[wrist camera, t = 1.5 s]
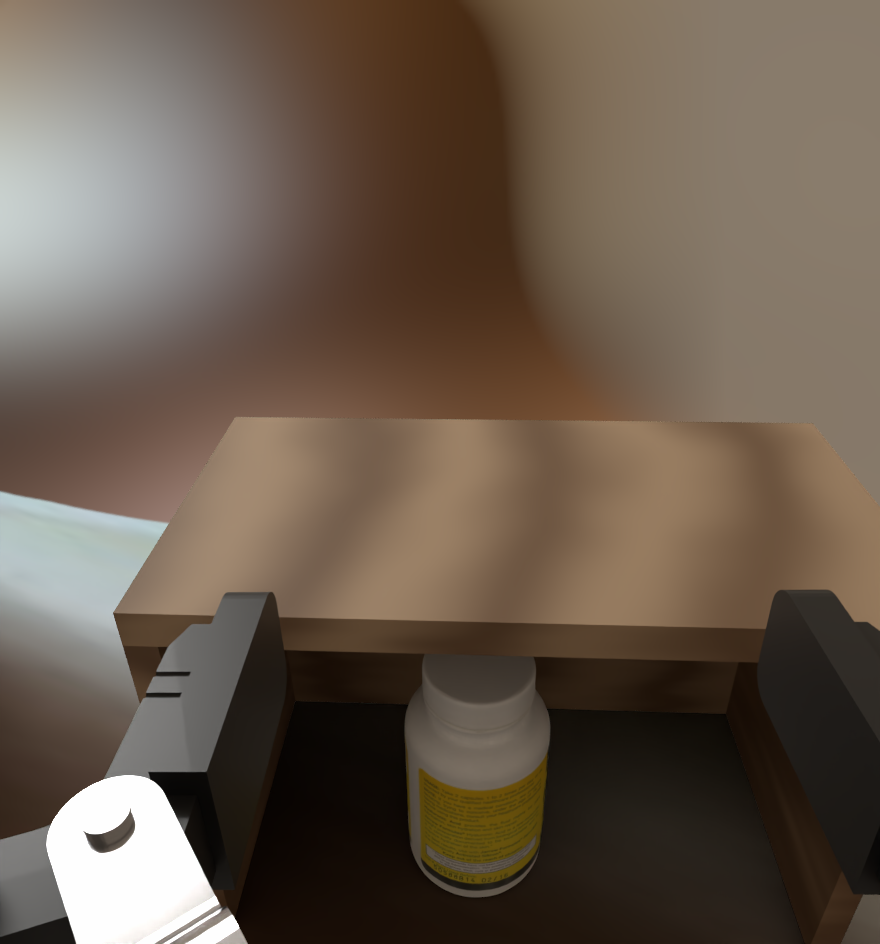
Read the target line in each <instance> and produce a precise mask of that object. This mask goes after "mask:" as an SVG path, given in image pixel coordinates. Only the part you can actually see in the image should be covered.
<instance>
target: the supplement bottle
mask: <svg viewBox="0 0 880 944" xmlns="http://www.w3.org/2000/svg"><path fill="white" fill-rule="evenodd" d="M535 679H536V664H535V660H534V657H528V656H490V655H452V654H425V655H424V658H423V662H422V685H421V686H420V687H419V688H418V689H417V691H416V692H415V693H414V695H413V696H412V698H411V700H410V702H409V705H408V707H407V711H406V715H405V751H406V774H407V798H408V799H407V802H408V824H409V838H410V845H411V849H412V852H413V855H414V858H415V860H416V862H417V864H418V865H419V867H420V868H421V870H422V871H423V873H424V874H425V875H426V876H427V877H428V878H429V879H430V880H431V881H432V882H434V883H435V884H436V885H438V886H439V887H441V888H443V889H444V890H446V891H449V892H451V893H453V894H457V895H460V896H465V897H488V896H493V895H497V894H500V893H502V892H504V891H506V890H508V889H510V888H512V887H513V886H515V885H516V884H518V883H519V882H520V881H521V880H522V879H523V878H524V877H525V876H526V875H527V874H528V873H529V871H530V870H531V868H532V866H533V865H534V863H535V861H536V858H537V856H538V852H539V848H540V843H541V835H542V826H543V814H544V803H545V791H546V779H547V767H548V756H549V748H550V720H549V715H548V711H547V708H546V706H545V703H544V701H543V700H542V698H541V696H540V695H539V693H538V692H537V691H536V690H535Z"/></svg>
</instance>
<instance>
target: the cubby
mask: <svg viewBox="0 0 880 944" xmlns="http://www.w3.org/2000/svg"><path fill="white" fill-rule="evenodd" d="M825 589H826V590H830V591H832V592H833V593H834V594H835V595H836V596H837V598H838V599H839V600H840V602H841V603H842V605H843V606H844V608H845V609H846V610H847V612H848V613H849V615H850V616H851V618H852V619H853V620H854V622H868V623H870V624H871V625H872V626H874V627H875V628H877V629H878V630H879V631H880V507H879V506H878V504H877V503H876V502H875V500H874V499H873V498H872V497H871V495H869V493H868V492H867V490H866V489H865V488H864V487H863V485H862V484H861V483H860V482H859V481H858V479H857V478H856V477H855V475H854V474H853V473H852V472H851V470H850V469H849V468H848V467H847V465H846V464H845V463H844V462H843V461H842V459H841V458H840V457H839V456H838V454H837V453H836V452H835V451H834V449H833V448H832V447H831V446H830V444H829V443H828V442H827V441H826V439H825V438H824V437H823V436H822V434H821V433H820V432H819V431H818V429H817V428H816V427H815V426H814V424H813V423H733V422H732V423H731V422H727V423H726V422H641V421H640V422H638V421H549V420H548V421H547V420H542V421H541V420H457V419H451V420H450V419H449V420H448V419H364V418H363V419H362V418H271V417H268V418H267V417H235V419H234V420H233V422H232V424H231V425H230V427H229V429H228V430H227V432H226V433H225V435H224V436H223V438H222V440H221V441H220V443H219V445H218V446H217V448H216V449H215V451H214V452H213V454H212V456H211V457H210V459H209V461H208V462H207V464H206V466H205V467H204V468H203V470H202V472H201V473H200V475H199V476H198V478H197V480H196V481H195V483H194V484H193V486H192V488H191V489H190V491H189V492H188V494H187V496H186V497H185V499H184V501H183V502H182V504H181V505H180V507H179V508H178V510H177V512H176V514H175V515H174V516H173V518H172V520H171V521H170V523H169V524H168V526H167V528H166V529H165V531H164V532H163V534H162V536H161V537H160V539H159V540H158V542H157V544H156V545H155V547H154V548H153V550H152V552H151V553H150V555H149V556H148V558H147V560H146V561H145V563H144V564H143V566H142V568H141V569H140V571H139V572H138V574H137V576H136V577H135V579H134V580H133V582H132V584H131V585H130V587H129V588H128V590H127V592H126V593H125V595H124V596H123V598H122V600H121V601H120V603H119V604H118V606H117V608H116V609H115V611H114V612H113V614H114V618H115V621H116V625H117V628H118V631H119V635H120V638H121V641H122V645H123V648H124V651H125V655H126V658H127V661H128V665H129V668H130V671H131V675H132V678H133V681H134V685H135V688H136V691H137V695H138V698H139V701H140V704H141V702H142V700H143V698H146V691H147V689H148V687H149V685H150V683H151V681H152V679H153V677H156V671H157V669H158V667H159V664H160V662H161V660H162V658H163V656H164V654H165V652H166V650H167V648H168V646H169V645H170V644H171V643H172V642H173V641H174V640H175V639H177V638H178V637H179V636H180V635H181V634H182V633H183V632H184V631H185V630H186V629H187V628H188V627H189V626H190V625H191V624H211V623H212V621H213V619H214V616H215V614H216V611H217V609H218V607H219V604H220V602H221V600H222V598H223V596H224V594H225V593H227V592H273V593H274V595H275V597H276V601H277V607H278V614H279V620H280V627H281V633H282V640H283V646H284V653H285V659H286V668H287V684H286V695H285V701H284V705H283V709H282V713H281V717H280V720H279V724H278V728H277V732H276V736H275V739H274V743H273V747H272V751H271V755H270V758H269V762H268V766H267V770H266V774H265V778H264V781H263V785H262V789H261V793H260V797H259V800H258V804H257V808H256V812H255V816H254V819H253V823H252V827H251V831H250V835H249V838H248V842H247V846H246V850H245V854H244V858H243V861H242V865H241V869H240V873H239V877H238V880H237V884H236V888H235V890H212V891H213V893H214V895H215V897H216V898H217V900H218V902H219V904H220V906H221V907H224V906H226V907H227V908H228V909H229V910H230V912H231V913H232V915H233V917H234V919H235V916H236V912H237V909H238V905H239V902H240V898H241V894H242V891H243V887H244V884H245V880H246V876H247V873H248V869H249V866H250V862H251V858H252V855H253V851H254V848H255V844H256V840H257V837H258V833H259V830H260V826H261V822H262V819H263V815H264V812H265V808H266V804H267V801H268V797H269V794H270V790H271V786H272V783H273V779H274V776H275V772H276V769H277V765H278V761H279V758H280V754H281V751H282V747H283V743H284V740H285V736H286V733H287V729H288V725H289V722H290V718H291V715H292V711H293V707H294V704H295V701H309V702H343V703H377V704H409V702H410V700H411V698H412V696H413V695H414V693H415V692H416V691H417V689H418V688H419V687H420V686H421V685H422V662H423V658H424V655H425V654H452V655H490V656H528V657H534V660H535V664H536V679H535V690H536V691H537V692H538V693H539V695H540V696H541V698H542V700H543V701H544V703H545V706H546V708H547V709H578V710H612V711H646V712H679V713H713V714H726V716H727V719H728V722H729V725H730V728H731V731H732V734H733V736H734V739H735V742H736V745H737V748H738V751H739V754H740V757H741V760H742V763H743V765H744V768H745V771H746V774H747V777H748V780H749V783H750V786H751V789H752V792H753V795H754V797H755V800H756V803H757V806H758V809H759V812H760V815H761V818H762V821H763V824H764V826H765V829H766V832H767V835H768V838H769V841H770V844H771V847H772V850H773V853H774V856H775V858H776V861H777V864H778V867H779V870H780V873H781V876H782V879H783V882H784V885H785V888H786V890H787V893H788V896H789V899H790V902H791V905H792V908H793V911H794V914H795V917H796V919H797V922H798V925H799V928H800V931H801V934H802V937H803V940H804V943H805V944H841V942H842V939H843V937H844V935H845V933H846V931H847V928H848V926H849V924H850V922H851V920H852V918H853V915H854V913H855V911H856V909H857V907H858V904H859V902H860V900H861V898H862V896H863V894H853V893H852V891H851V889H850V886H849V884H848V882H847V880H846V878H845V876H844V874H843V872H842V870H841V867H840V865H839V863H838V861H837V859H836V857H835V855H834V853H833V850H832V848H831V846H830V844H829V842H828V840H827V838H826V836H825V834H824V831H823V829H822V827H821V825H820V823H819V821H818V819H817V817H816V815H815V812H814V810H813V808H812V806H811V804H810V802H809V800H808V798H807V795H806V793H805V791H804V789H803V787H802V785H801V783H800V781H799V779H798V776H797V774H796V772H795V770H794V768H793V766H792V764H791V762H790V760H789V757H788V755H787V753H786V751H785V749H784V747H783V745H782V743H781V740H780V738H779V736H778V734H777V732H776V730H775V728H774V726H773V724H772V721H771V719H770V717H769V715H768V713H767V711H766V709H765V707H764V704H763V702H762V699H761V696H760V692H759V687H758V678H757V668H758V661H759V656H760V652H761V648H762V643H763V639H764V635H765V630H766V626H767V622H768V618H769V613H770V609H771V605H772V601H773V598H774V595H775V594H776V592H777V591H779V590H825Z"/></svg>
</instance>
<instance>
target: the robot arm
mask: <svg viewBox="0 0 880 944" xmlns="http://www.w3.org/2000/svg"><path fill="white" fill-rule="evenodd" d="M757 678H758V687H759V692H760V696H761V699H762V702H763V704H764V707H765V709H766V711H767V713H768V715H769V717H770V719H771V721H772V724H773V726H774V728H775V730H776V732H777V734H778V736H779V738H780V740H781V743H782V745H783V747H784V749H785V751H786V753H787V755H788V757H789V760H790V762H791V764H792V766H793V768H794V770H795V772H796V774H797V776H798V779H799V781H800V783H801V785H802V787H803V789H804V791H805V793H806V795H807V798H808V800H809V802H810V804H811V806H812V808H813V810H814V812H815V815H816V817H817V819H818V821H819V823H820V825H821V827H822V829H823V831H824V834H825V836H826V838H827V840H828V842H829V844H830V846H831V848H832V850H833V853H834V855H835V857H836V859H837V861H838V863H839V865H840V867H841V870H842V872H843V874H844V876H845V878H846V880H847V882H848V884H849V886H850V889H851V891H852V893H853V894H878V895H880V631H879V630H878V629H877V628H875V627H874V626H872V625H871V624H870V623H868V622H854V620H853V619H852V618H851V616H850V615H849V613H848V612H847V610H846V609H845V608H844V606H843V605H842V603H841V602H840V600H839V599H838V598H837V596H836V595H835V594H834V593H833V592H832V591H830V590H826V589H825V590H779V591H777V592H776V594H775V595H774V598H773V601H772V605H771V609H770V613H769V618H768V622H767V626H766V630H765V635H764V639H763V643H762V648H761V652H760V656H759V661H758V668H757ZM286 684H287V668H286V659H285V653H284V646H283V640H282V633H281V627H280V620H279V614H278V607H277V601H276V597H275V595H274V593H273V592H227V593H225V594H224V596H223V598H222V600H221V602H220V604H219V607H218V609H217V611H216V614H215V616H214V619H213V621H212V623H211V624H191V625H190V626H189V627H188V628H187V629H186V630H185V631H184V632H183V633H182V634H181V635H180V636H179V637H178V638H177V639H175V640H174V641H173V642H172V643H171V644H170V645H169V646H168V648H167V650H166V652H165V654H164V656H163V658H162V660H161V662H160V664H159V667H158V669H157V671H156V677H153V679H152V681H151V683H150V685H149V687H148V689H147V691H146V698H143V700H142V702H141V704H140V706H139V708H138V710H137V712H136V714H135V716H134V718H133V720H132V722H131V725H130V727H129V729H128V731H127V733H126V735H125V737H124V739H123V741H122V743H121V745H120V747H119V749H118V752H117V754H116V756H115V758H114V760H113V762H112V764H111V766H110V768H109V770H108V772H107V774H106V776H105V778H104V780H103V781H101V782H98V783H96V784H94V785H92V786H90V787H88V788H86V789H84V790H83V791H81V792H80V793H79V794H77V795H76V796H74V797H73V798H72V799H71V800H70V801H69V802H68V803H67V804H66V805H65V806H64V807H63V808H62V809H61V810H60V812H59V813H58V815H57V816H56V817H55V819H54V821H53V823H52V824H50V825H48V826H46V827H43V828H40V829H37V830H34V831H30V832H27V833H23V834H20V835H16V836H12V837H9V838H5V839H2V840H0V944H247V942H246V940H245V938H244V936H243V934H242V932H241V930H240V928H239V926H238V924H237V922H236V920H235V919H234V917H233V915H232V913H231V912H230V910H229V909H228V908H227V907H226V906H224V907H221V906H220V904H219V902H218V900H217V898H216V897H215V895H214V893H213V891H212V890H235V888H236V884H237V880H238V877H239V873H240V869H241V865H242V861H243V858H244V854H245V850H246V846H247V842H248V838H249V835H250V831H251V827H252V823H253V819H254V816H255V812H256V808H257V804H258V800H259V797H260V793H261V789H262V785H263V781H264V778H265V774H266V770H267V766H268V762H269V758H270V755H271V751H272V747H273V743H274V739H275V736H276V732H277V728H278V724H279V720H280V717H281V713H282V709H283V705H284V701H285V695H286Z"/></svg>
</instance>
